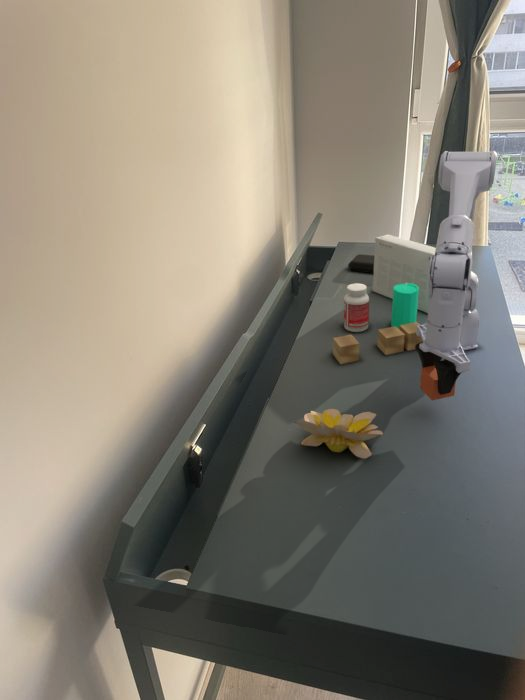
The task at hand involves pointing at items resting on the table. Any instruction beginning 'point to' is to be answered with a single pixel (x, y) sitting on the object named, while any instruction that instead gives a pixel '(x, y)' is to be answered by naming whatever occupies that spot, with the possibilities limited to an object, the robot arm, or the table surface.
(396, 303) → the candle
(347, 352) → the block
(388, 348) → the block
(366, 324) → the pill bottle
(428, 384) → the orange block
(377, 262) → the skincare box
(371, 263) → the carrying case
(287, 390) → the table surface
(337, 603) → the table surface
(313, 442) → the decorative flower
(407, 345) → the block
